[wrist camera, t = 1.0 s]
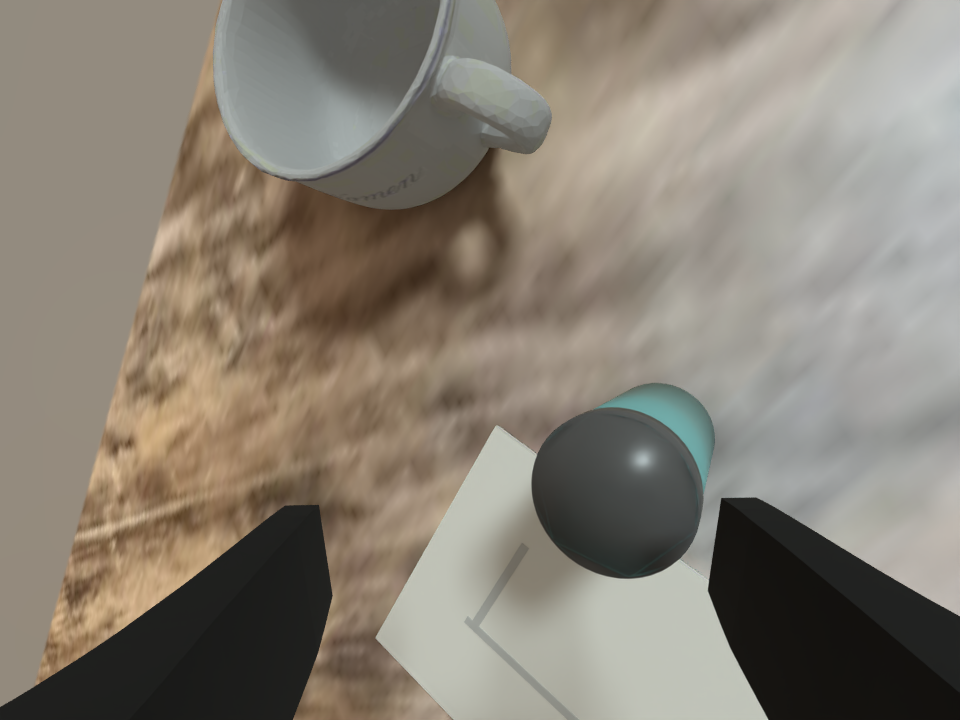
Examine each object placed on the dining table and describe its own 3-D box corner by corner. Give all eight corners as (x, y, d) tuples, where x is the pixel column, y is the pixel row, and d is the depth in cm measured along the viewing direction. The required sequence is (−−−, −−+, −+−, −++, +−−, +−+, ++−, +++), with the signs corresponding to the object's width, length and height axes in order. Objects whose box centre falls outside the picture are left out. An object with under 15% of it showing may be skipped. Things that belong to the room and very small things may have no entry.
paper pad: (980, 781, 17) (985, 789, 16) (726, 996, 20) (726, 1006, 20) (498, 425, 24) (494, 426, 23) (378, 634, 28) (374, 638, 27)
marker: (740, 417, 19) (739, 481, 11) (678, 501, 20) (638, 614, 12) (643, 360, 21) (581, 379, 13) (591, 441, 22) (504, 506, 14)
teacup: (316, 149, 28) (171, 88, 21) (420, -54, 24) (288, -212, 17) (494, 308, 24) (387, 298, 16) (653, 89, 20) (604, -44, 13)
